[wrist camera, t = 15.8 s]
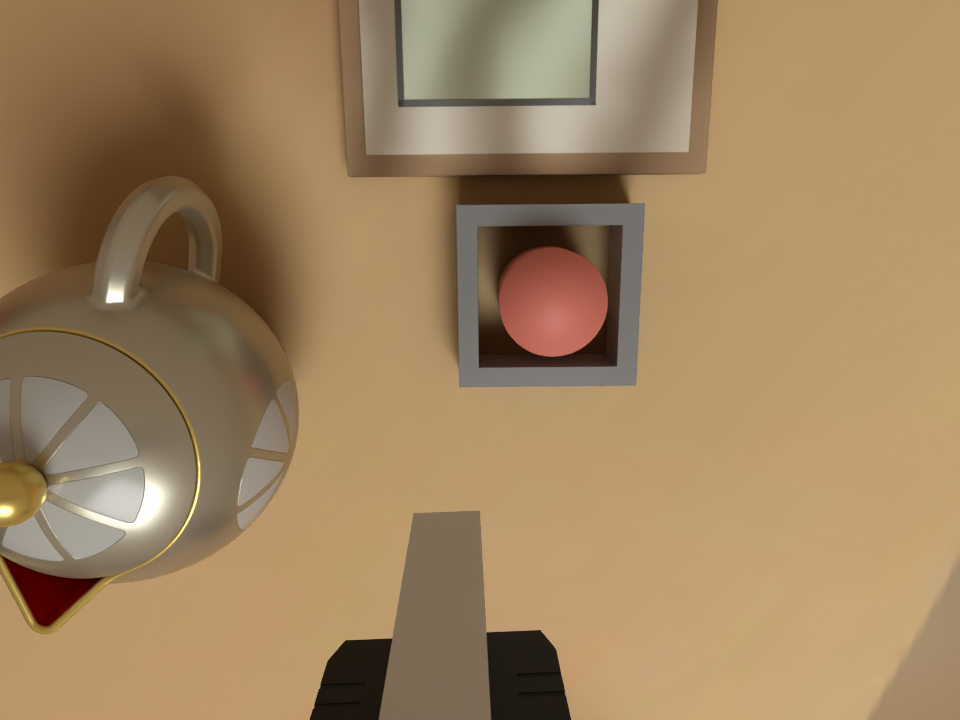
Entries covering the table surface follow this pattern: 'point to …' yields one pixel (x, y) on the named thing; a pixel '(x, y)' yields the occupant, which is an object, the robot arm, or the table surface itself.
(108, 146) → the table surface
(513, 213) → the button housing
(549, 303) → the button
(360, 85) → the picture board
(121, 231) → the teapot
